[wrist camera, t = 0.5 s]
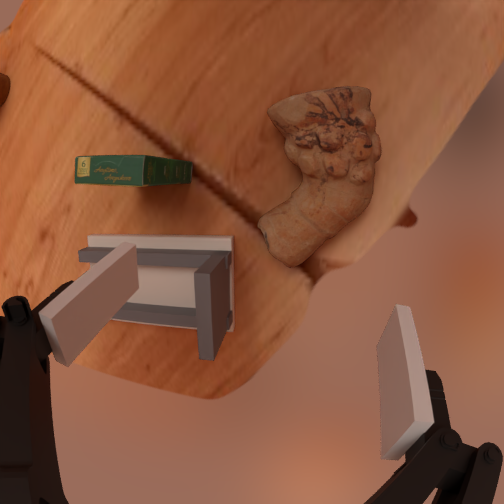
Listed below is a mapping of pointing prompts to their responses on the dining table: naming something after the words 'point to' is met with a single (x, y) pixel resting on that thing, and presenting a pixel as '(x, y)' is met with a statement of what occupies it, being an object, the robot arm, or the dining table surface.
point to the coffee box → (131, 170)
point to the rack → (177, 283)
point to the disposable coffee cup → (4, 87)
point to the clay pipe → (322, 168)
